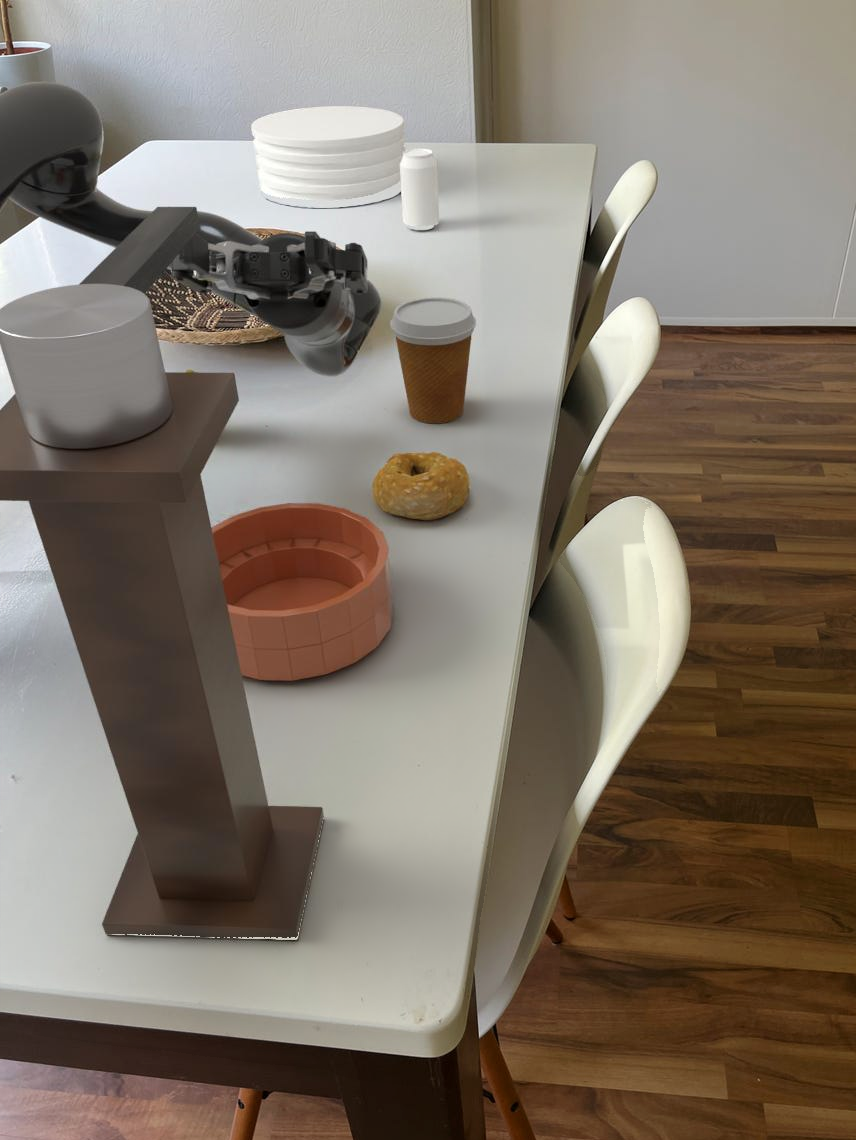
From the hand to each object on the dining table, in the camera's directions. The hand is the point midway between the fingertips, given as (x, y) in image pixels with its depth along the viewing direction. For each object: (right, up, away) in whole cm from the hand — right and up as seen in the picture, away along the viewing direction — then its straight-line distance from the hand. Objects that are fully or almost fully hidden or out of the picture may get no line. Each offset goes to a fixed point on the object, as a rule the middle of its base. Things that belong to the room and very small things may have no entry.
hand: (248, 246), depth 71 cm
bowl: (0, -26, +17) cm, 31 cm away
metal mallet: (-1, -13, -19) cm, 23 cm away
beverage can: (+6, +44, +105) cm, 114 cm away
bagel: (+10, -13, +33) cm, 37 cm away
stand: (-1, -43, -4) cm, 43 cm away
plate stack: (-12, +59, +125) cm, 139 cm away
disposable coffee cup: (+11, -1, +49) cm, 50 cm away
